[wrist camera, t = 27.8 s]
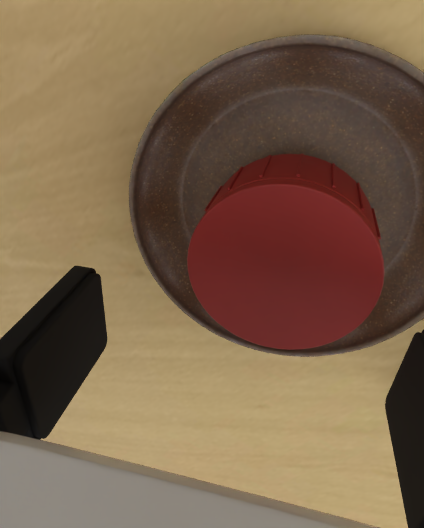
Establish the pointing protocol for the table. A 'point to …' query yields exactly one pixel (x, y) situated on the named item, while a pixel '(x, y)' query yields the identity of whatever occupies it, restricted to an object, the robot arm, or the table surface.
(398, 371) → the robot arm
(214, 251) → the lid
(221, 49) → the table surface
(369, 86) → the saucer
